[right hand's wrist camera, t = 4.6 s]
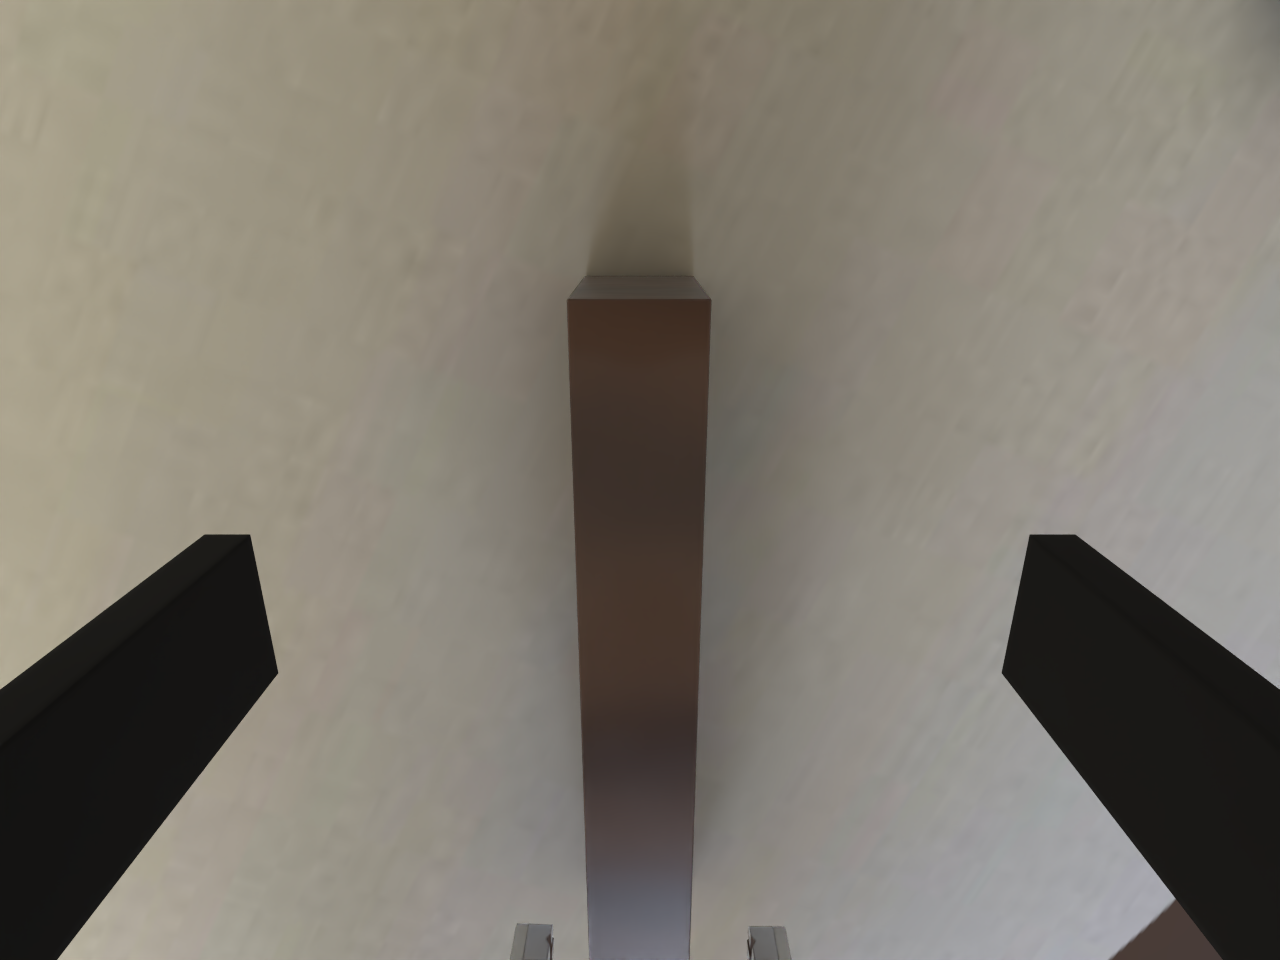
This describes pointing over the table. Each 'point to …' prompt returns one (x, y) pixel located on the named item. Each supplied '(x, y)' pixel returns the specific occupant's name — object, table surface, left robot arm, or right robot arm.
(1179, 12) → the table surface
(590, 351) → the walnut beam
